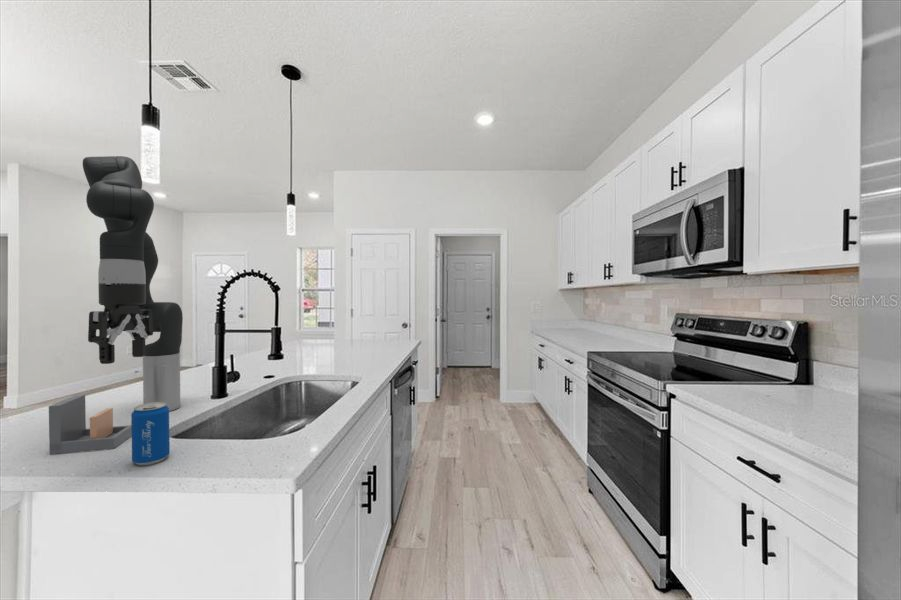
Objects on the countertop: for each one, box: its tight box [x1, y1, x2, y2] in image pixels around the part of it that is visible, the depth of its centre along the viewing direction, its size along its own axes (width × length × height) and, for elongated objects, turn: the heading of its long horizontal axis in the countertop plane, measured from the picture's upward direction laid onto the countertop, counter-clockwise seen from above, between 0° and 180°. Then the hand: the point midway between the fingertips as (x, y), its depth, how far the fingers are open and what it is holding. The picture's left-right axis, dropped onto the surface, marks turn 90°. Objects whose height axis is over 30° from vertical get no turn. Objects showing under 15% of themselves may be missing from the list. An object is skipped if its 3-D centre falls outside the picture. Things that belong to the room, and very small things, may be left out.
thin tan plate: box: [89, 407, 114, 439], centre depth 93 cm, size 1×7×6 cm, turn 17°
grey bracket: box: [48, 394, 132, 455], centre depth 92 cm, size 12×9×11 cm
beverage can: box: [130, 402, 171, 466], centre depth 84 cm, size 6×6×12 cm
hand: (123, 359), depth 80 cm, fingers open, 8 cm apart
